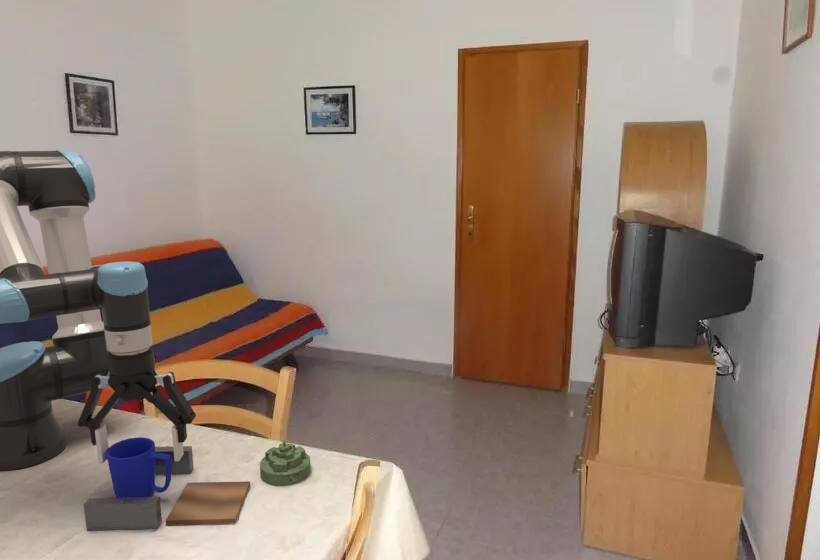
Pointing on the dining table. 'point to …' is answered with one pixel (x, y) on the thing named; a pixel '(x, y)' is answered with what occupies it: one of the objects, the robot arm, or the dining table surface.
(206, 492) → the walnut board
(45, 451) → the robot arm
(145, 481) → the mug
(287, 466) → the decorative artifact
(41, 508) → the dining table surface
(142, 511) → the vise jaws
